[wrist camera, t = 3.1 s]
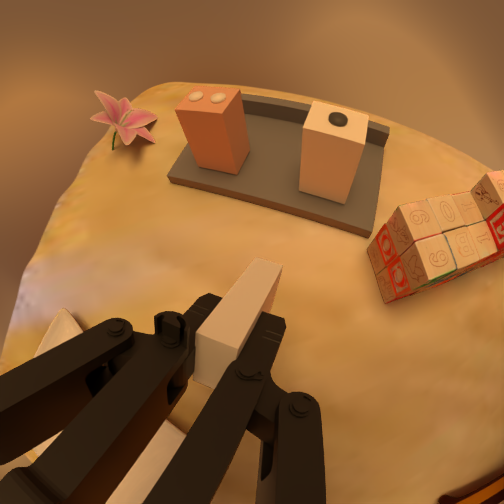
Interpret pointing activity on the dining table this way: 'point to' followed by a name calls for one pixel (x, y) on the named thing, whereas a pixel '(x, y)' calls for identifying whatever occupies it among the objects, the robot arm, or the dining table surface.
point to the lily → (124, 118)
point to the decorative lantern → (480, 494)
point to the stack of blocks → (439, 239)
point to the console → (289, 168)
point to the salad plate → (155, 454)
